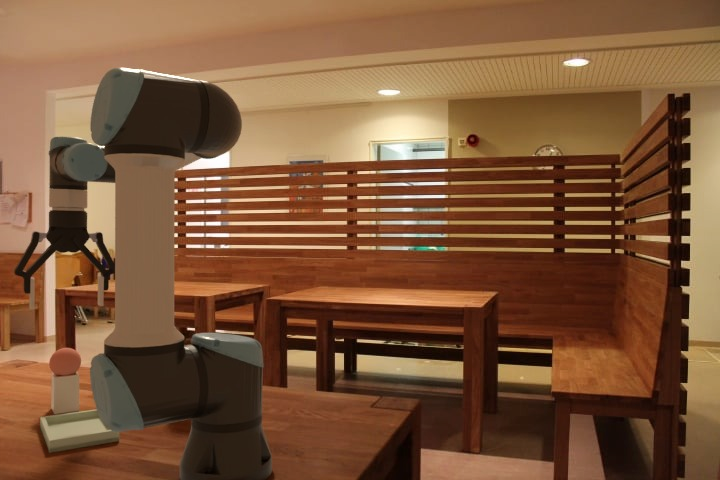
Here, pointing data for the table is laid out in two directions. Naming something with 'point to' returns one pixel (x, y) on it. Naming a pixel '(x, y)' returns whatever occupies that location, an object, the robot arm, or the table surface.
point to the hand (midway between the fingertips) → (67, 307)
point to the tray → (75, 430)
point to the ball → (65, 362)
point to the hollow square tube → (65, 393)
